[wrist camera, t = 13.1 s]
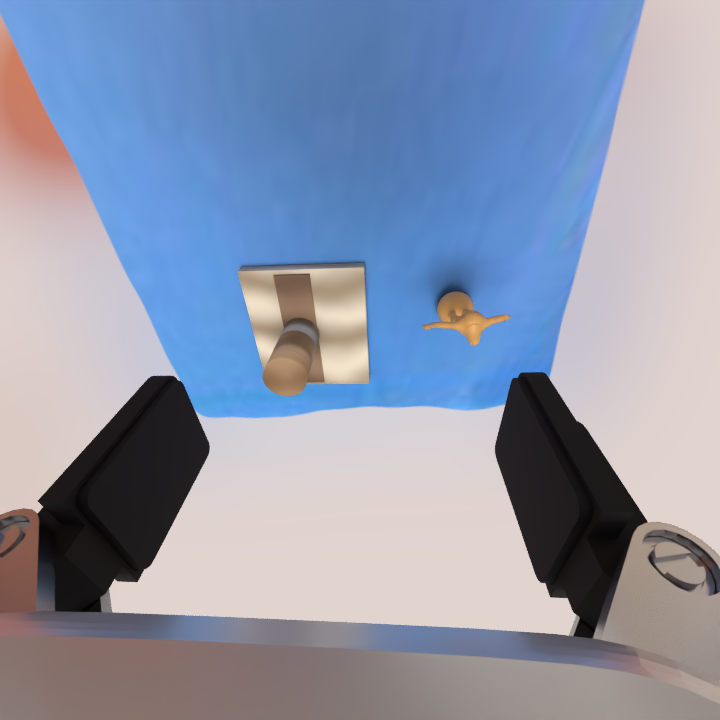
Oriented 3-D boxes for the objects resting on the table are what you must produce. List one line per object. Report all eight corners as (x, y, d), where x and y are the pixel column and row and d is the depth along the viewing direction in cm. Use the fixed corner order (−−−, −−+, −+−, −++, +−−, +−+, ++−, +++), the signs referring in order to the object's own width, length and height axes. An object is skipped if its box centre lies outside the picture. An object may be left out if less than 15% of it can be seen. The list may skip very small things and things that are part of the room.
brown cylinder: (280, 318, 41) (258, 361, 34) (317, 317, 41) (302, 361, 33) (287, 349, 43) (267, 396, 36) (321, 348, 43) (309, 396, 36)
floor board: (242, 266, 39) (236, 272, 38) (364, 262, 38) (363, 268, 37) (270, 377, 49) (266, 385, 47) (369, 376, 47) (369, 385, 46)
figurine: (417, 320, 42) (428, 381, 32) (414, 273, 39) (425, 326, 29) (488, 312, 41) (521, 373, 31) (490, 263, 38) (529, 314, 28)
